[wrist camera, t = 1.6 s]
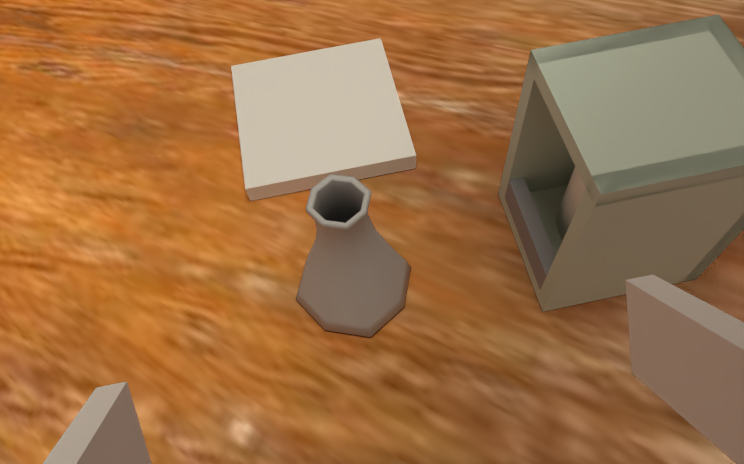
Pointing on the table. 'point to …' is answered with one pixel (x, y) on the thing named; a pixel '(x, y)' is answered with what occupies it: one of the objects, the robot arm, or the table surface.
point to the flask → (350, 262)
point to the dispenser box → (627, 159)
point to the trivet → (319, 119)
